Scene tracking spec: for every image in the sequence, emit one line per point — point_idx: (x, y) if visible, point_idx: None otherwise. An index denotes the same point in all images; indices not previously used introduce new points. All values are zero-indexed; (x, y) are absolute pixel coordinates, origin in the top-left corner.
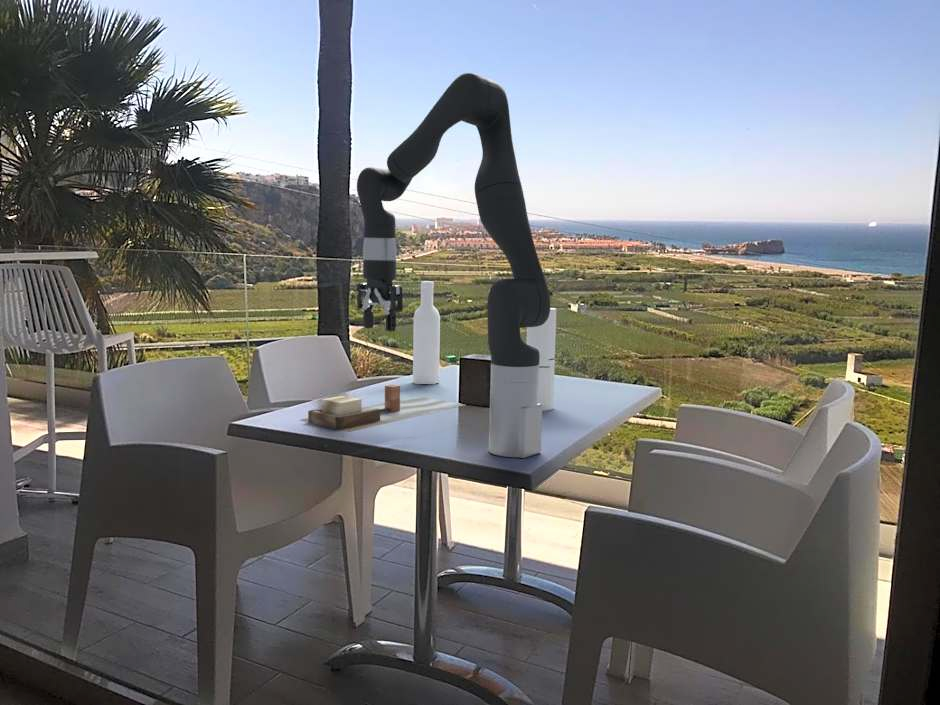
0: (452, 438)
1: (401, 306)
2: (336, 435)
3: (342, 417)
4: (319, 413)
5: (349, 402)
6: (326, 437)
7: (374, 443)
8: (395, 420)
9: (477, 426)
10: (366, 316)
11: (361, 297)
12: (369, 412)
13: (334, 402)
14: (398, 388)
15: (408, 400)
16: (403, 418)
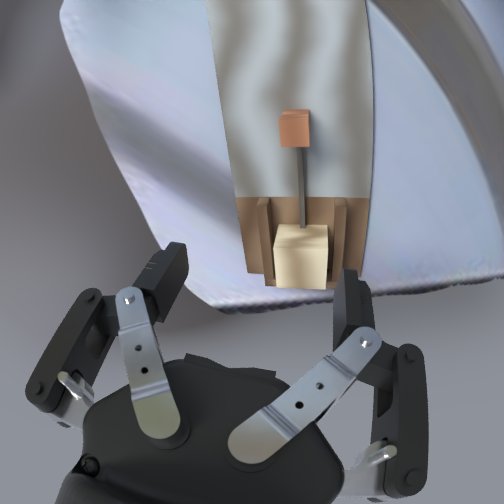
0: (486, 200)
1: (421, 375)
2: None
3: None
4: None
5: (326, 272)
6: None
7: (413, 280)
8: (368, 182)
9: (483, 106)
10: (169, 304)
11: (97, 367)
12: (344, 231)
13: (309, 288)
14: (308, 123)
15: (226, 20)
16: (368, 158)
